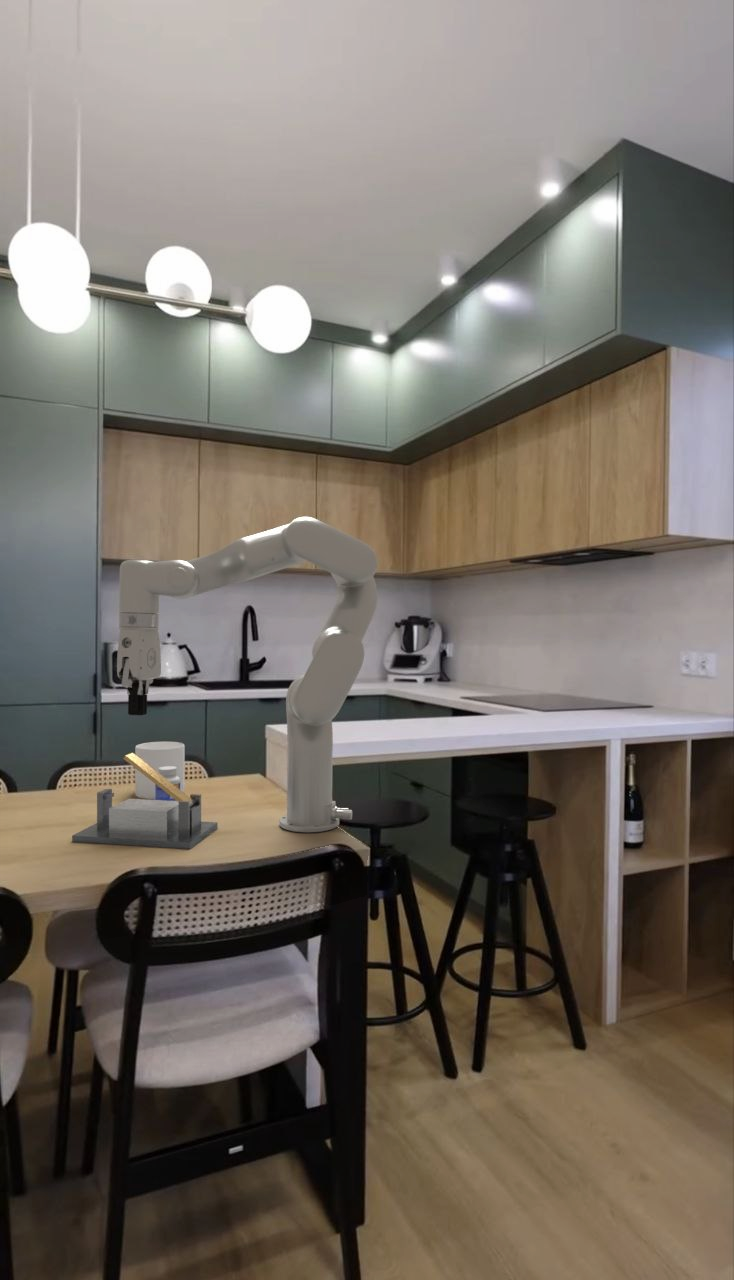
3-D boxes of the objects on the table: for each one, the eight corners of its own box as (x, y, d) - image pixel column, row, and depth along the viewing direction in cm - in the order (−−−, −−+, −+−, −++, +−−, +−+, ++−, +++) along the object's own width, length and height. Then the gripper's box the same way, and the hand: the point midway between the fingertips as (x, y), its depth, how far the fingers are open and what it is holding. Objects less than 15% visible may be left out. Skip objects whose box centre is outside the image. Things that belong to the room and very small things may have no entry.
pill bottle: (173, 814, 158) (173, 770, 158) (150, 813, 159) (150, 769, 159) (184, 808, 164) (184, 766, 163) (162, 807, 165) (162, 764, 165)
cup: (145, 787, 184) (145, 741, 184) (190, 788, 183) (190, 741, 183) (128, 798, 172) (128, 749, 172) (176, 799, 172) (176, 749, 171)
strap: (194, 805, 143) (197, 801, 143) (186, 810, 140) (188, 806, 139) (131, 755, 145) (134, 752, 145) (122, 759, 142) (124, 755, 141)
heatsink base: (217, 828, 148) (217, 787, 148) (190, 849, 134) (190, 804, 134) (109, 822, 152) (109, 782, 152) (72, 841, 138) (72, 798, 138)
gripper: (138, 622, 135) (136, 720, 135) (172, 623, 149) (171, 711, 150) (101, 621, 136) (100, 718, 136) (139, 622, 151) (137, 709, 151)
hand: (137, 714), depth 143 cm, fingers closed
